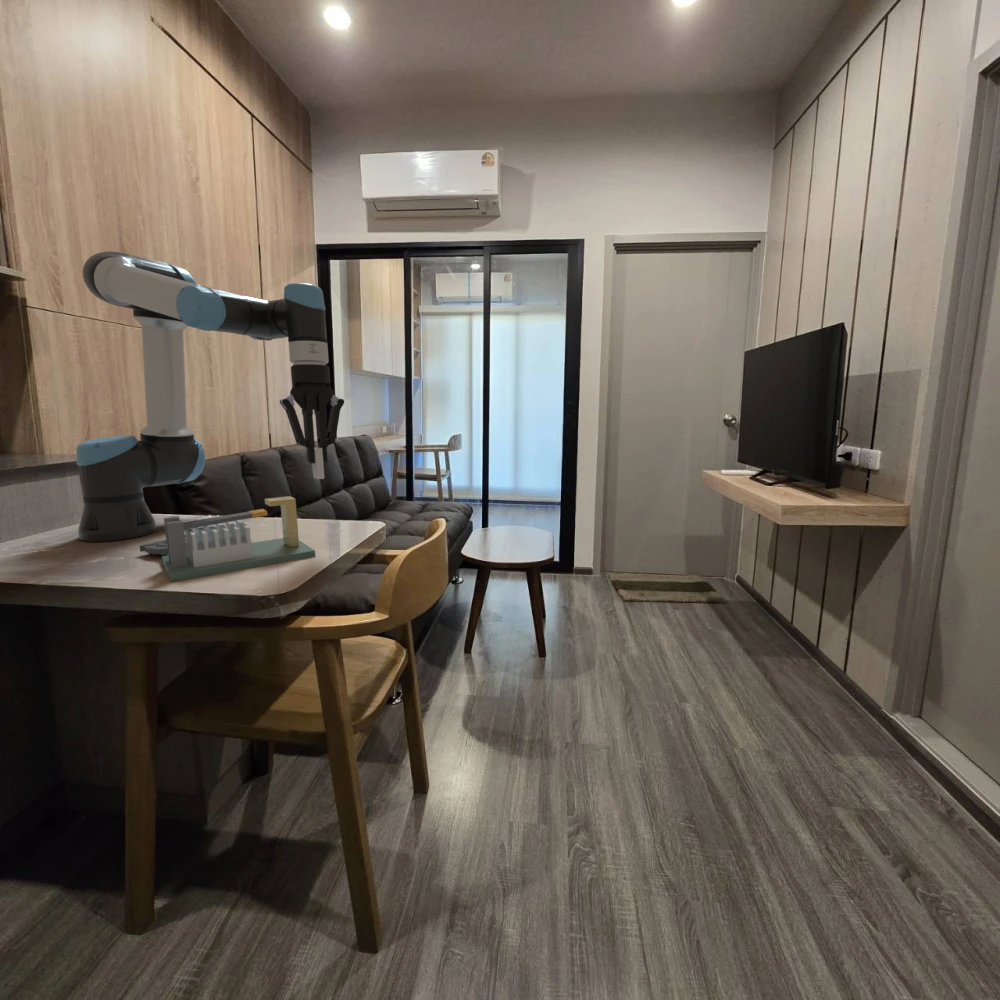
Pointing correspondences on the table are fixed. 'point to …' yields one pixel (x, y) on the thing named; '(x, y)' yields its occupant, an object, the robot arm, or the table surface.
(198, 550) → the board
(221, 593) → the table surface
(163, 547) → the graphics card
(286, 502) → the block
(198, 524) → the strap
